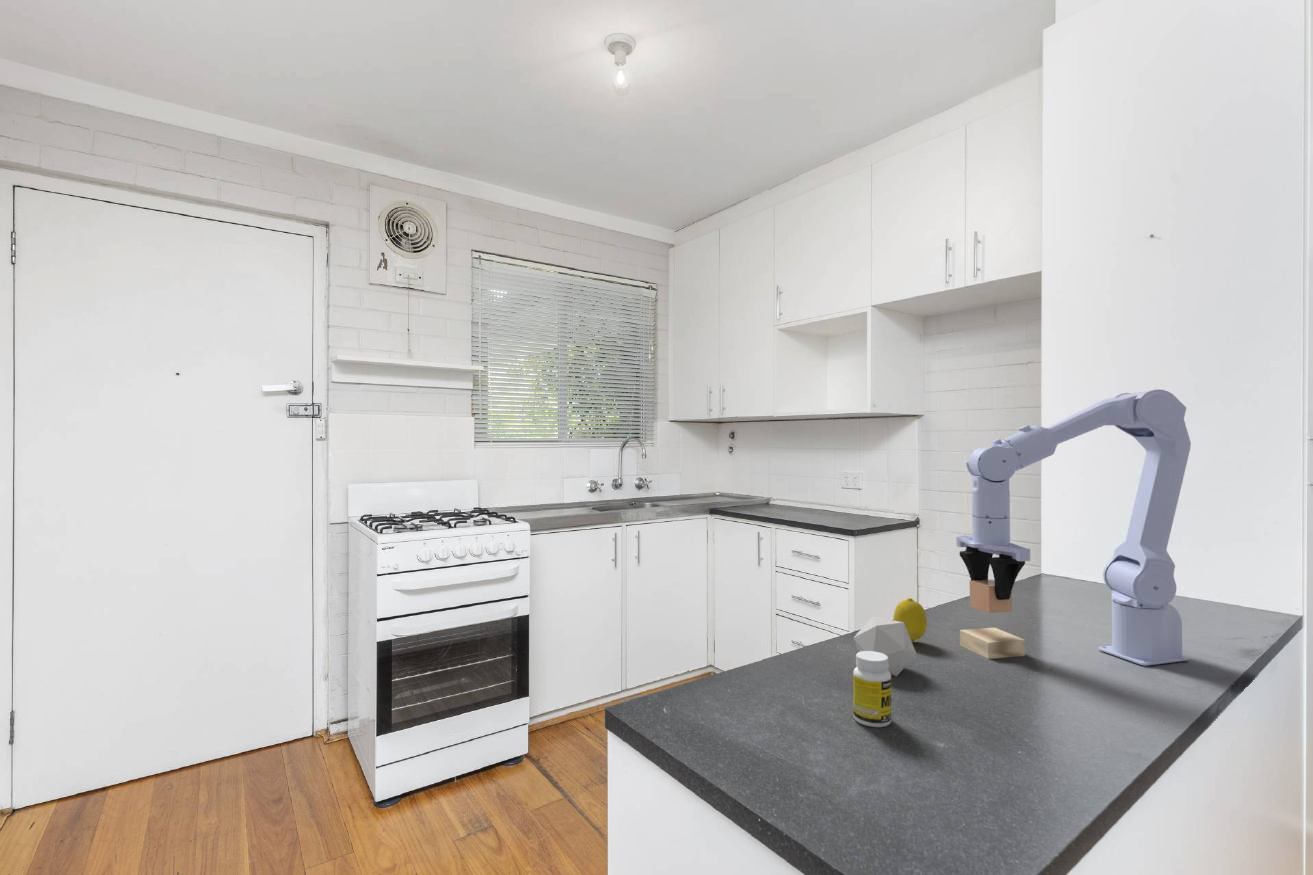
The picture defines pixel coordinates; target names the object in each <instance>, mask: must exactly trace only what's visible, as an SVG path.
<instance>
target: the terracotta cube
mask: <svg viewBox="0 0 1313 875" xmlns="http://www.w3.org/2000/svg"><path fill="white" fill-rule="evenodd" d="M1012 602H1013V600H1012V592H1011V595H1010V599H1007V600H998V599H997V598H996V594H995V581H994V579H988V580H977V581H971V580H969V607H970V608H972V609H976V610H979V611H982V612H984V613H988V614H994V613H995V614H996V613H998V614H999V613H1007V612H1008V613H1010V612H1013V603H1012Z"/></svg>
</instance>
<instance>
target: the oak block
mask: <svg viewBox="0 0 1313 875" xmlns="http://www.w3.org/2000/svg"><path fill="white" fill-rule="evenodd" d="M959 646H961V647H963V648H965V649H967V650H969V651H970V652H971V651H972V652H974V653H975V654H977V655H978V656H981V657H983V658H986V659H988V660H989V659H1002V658H1003V659H1004V658H1015V657H1025V656H1026V640H1025V639H1024V638H1021V637H1019V636H1017V635H1014V634H1012V633H1009V632H1007V631H1004V630H1001V629H999V628H998V627H985V628H984V627H983V628H982V627H981V628H970V629H969V628H966V629H959Z"/></svg>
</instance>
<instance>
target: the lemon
mask: <svg viewBox="0 0 1313 875" xmlns="http://www.w3.org/2000/svg"><path fill="white" fill-rule="evenodd" d="M893 620H894V621H899V622H904V624H905V627H906V629H907V632H908V634H909V637H910V639H911V642H912V643H913V642H915V641H916V640H919V639H921V638H922V637H923V636H924V635H925V632H926V630H927V626H928V618H927V615H926V610H925V609H924V607H923V606H922V604H920V603H919V602H917V601H915V600H914V599H913V598H911V597H908V598H907V599H904V600H902V601H900V602H899V603H898V604H897V605H896V607H895V608H894V614H893Z"/></svg>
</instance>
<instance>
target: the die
mask: <svg viewBox="0 0 1313 875" xmlns="http://www.w3.org/2000/svg"><path fill="white" fill-rule="evenodd" d="M853 642H854V644H855V645H856V648H857V651H858V652H861V651H874V652H879V653H883V654H885V655H886V656H887V657H888V664H889V667H888V671H889V672H890V674H891V676H894V677H898V675H899V674H900V673H902V671H903V670H904V669H905V667H907V666H908V664H909V663H910V661H911V660H913V658H914V657H915V655H916V654H917V652H916V648H915V646H914V645H913V644H914V643H913V642H911V639H910V637H909V634H908V632H907V629H906V627H905V624H904V622H899V621H894V619H889V618H883V617H879V616H872V617H871V618H870V619H869V620H868V621H867V622H866V623H865V624H864V626H862V628H861V629H860V630H859V631H858V632H857V633H856V634H855V635H854V637H853Z"/></svg>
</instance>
